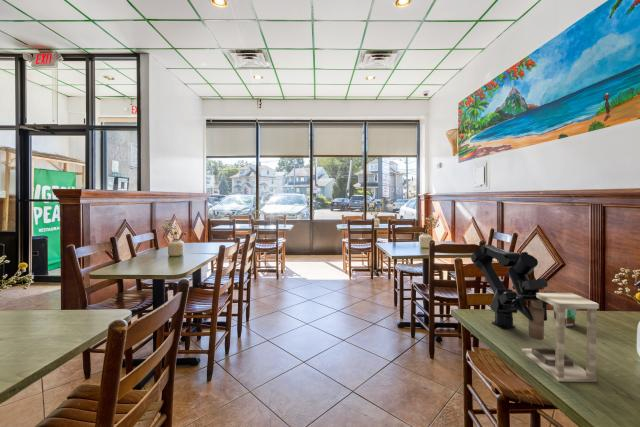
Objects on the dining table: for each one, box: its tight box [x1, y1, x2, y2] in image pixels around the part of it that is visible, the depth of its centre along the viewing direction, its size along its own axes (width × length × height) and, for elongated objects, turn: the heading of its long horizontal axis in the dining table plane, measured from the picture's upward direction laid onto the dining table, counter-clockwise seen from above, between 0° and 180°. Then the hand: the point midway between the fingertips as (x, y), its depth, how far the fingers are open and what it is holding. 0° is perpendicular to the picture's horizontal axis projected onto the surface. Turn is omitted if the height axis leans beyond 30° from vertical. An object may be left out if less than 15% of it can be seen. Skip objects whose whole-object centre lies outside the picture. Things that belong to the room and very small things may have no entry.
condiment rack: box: [521, 292, 600, 383], centre depth 99 cm, size 18×11×24 cm, turn 177°
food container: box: [552, 305, 577, 328], centre depth 132 cm, size 12×6×10 cm, turn 168°
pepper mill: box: [528, 300, 545, 341], centre depth 109 cm, size 4×4×13 cm
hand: (538, 320), depth 108 cm, fingers closed on pepper mill, 4 cm apart
